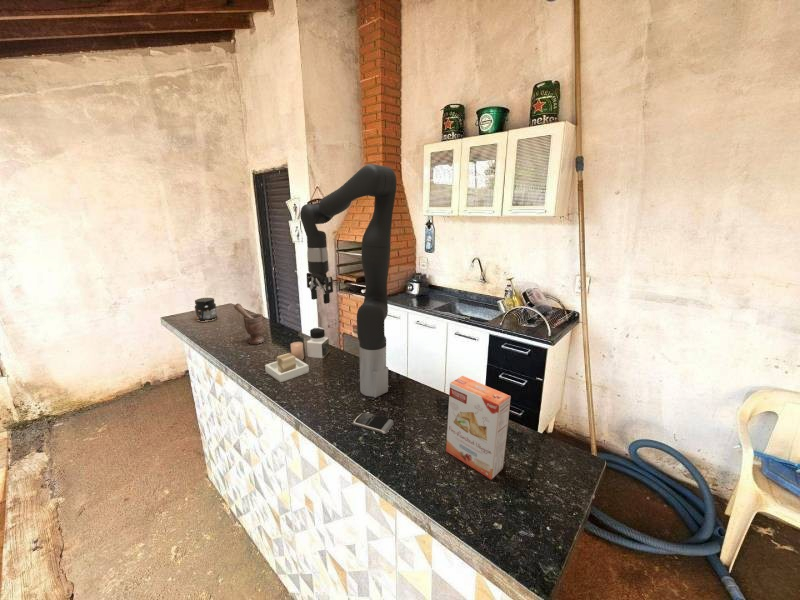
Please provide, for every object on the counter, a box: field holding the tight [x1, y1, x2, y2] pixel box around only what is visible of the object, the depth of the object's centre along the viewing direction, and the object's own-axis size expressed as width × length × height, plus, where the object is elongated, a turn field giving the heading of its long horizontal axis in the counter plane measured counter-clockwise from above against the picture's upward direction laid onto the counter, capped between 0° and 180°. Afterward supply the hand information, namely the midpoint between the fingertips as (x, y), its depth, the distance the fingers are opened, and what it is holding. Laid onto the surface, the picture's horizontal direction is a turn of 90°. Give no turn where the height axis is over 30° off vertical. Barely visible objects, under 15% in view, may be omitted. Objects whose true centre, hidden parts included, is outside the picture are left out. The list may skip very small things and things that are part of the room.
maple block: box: [276, 352, 296, 373], centre depth 135 cm, size 5×5×6 cm
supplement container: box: [194, 297, 218, 321], centre depth 195 cm, size 10×10×12 cm
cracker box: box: [445, 375, 512, 481], centre depth 86 cm, size 14×6×21 cm, turn 45°
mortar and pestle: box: [233, 303, 266, 345], centre depth 161 cm, size 12×9×20 cm
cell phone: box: [353, 412, 394, 434], centre depth 104 cm, size 6×11×1 cm, turn 67°
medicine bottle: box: [306, 327, 330, 359], centre depth 151 cm, size 7×7×12 cm
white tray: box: [264, 358, 310, 383], centre depth 135 cm, size 12×12×3 cm
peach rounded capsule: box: [290, 341, 305, 362], centre depth 146 cm, size 5×5×7 cm
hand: (320, 301), depth 133 cm, fingers open, 8 cm apart
